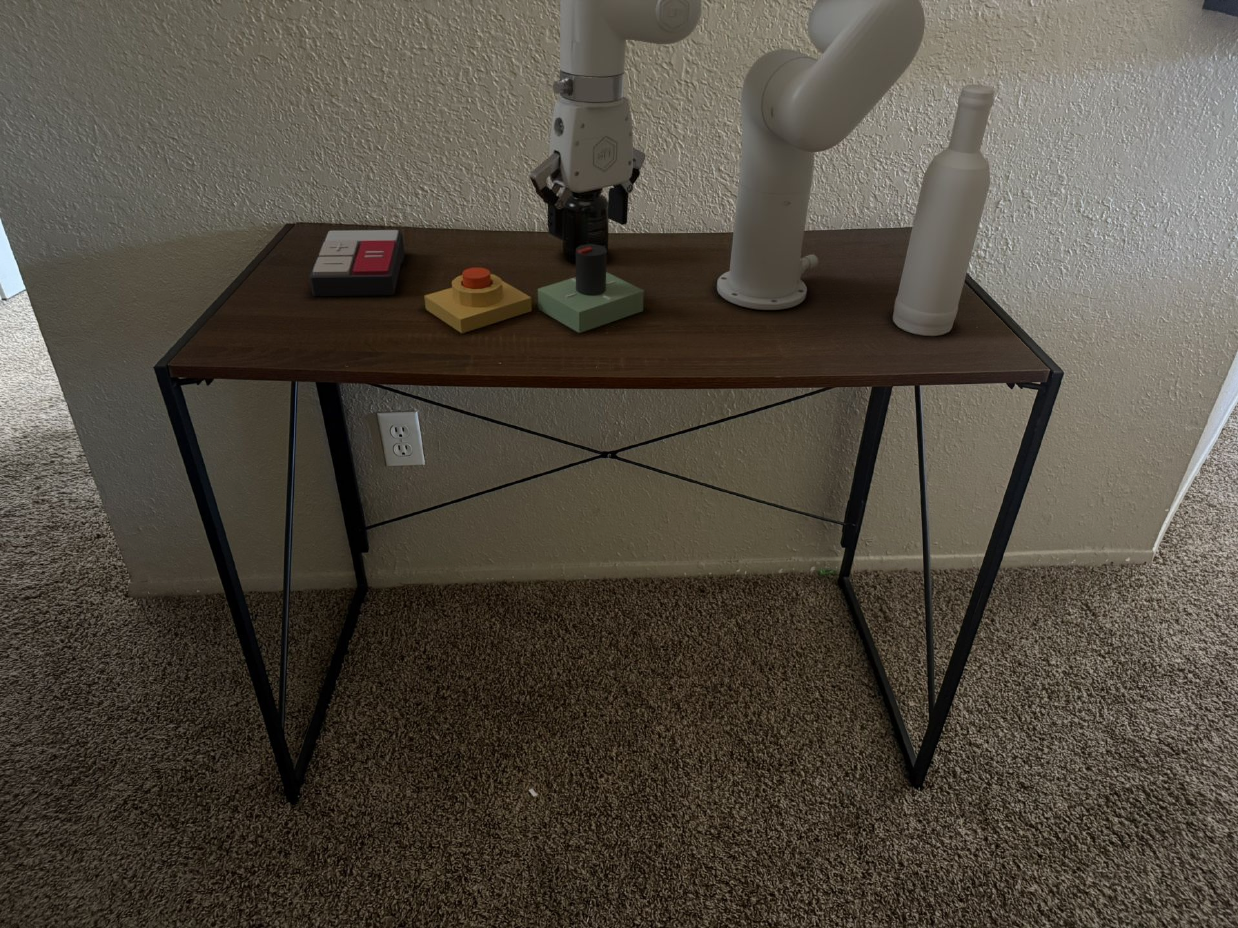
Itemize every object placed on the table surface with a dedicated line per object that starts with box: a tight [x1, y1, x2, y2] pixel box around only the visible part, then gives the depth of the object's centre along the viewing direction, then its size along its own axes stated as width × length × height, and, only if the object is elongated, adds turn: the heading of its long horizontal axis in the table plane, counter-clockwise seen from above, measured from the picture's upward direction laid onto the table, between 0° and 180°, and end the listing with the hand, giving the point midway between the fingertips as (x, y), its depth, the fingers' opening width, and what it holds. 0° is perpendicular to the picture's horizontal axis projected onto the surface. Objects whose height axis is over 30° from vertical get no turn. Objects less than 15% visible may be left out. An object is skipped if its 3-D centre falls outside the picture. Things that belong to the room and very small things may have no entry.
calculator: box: [308, 229, 405, 297], centre depth 128 cm, size 11×4×15 cm
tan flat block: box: [423, 273, 533, 334], centre depth 120 cm, size 11×9×4 cm
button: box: [461, 267, 491, 289], centre depth 118 cm, size 4×4×2 cm
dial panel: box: [537, 271, 645, 334], centre depth 121 cm, size 11×9×3 cm
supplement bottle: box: [562, 188, 610, 265], centre depth 134 cm, size 7×7×12 cm
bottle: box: [892, 83, 996, 337], centre depth 113 cm, size 8×8×30 cm
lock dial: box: [575, 244, 608, 295], centre depth 119 cm, size 4×4×6 cm
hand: (588, 229), depth 115 cm, fingers open, 9 cm apart
